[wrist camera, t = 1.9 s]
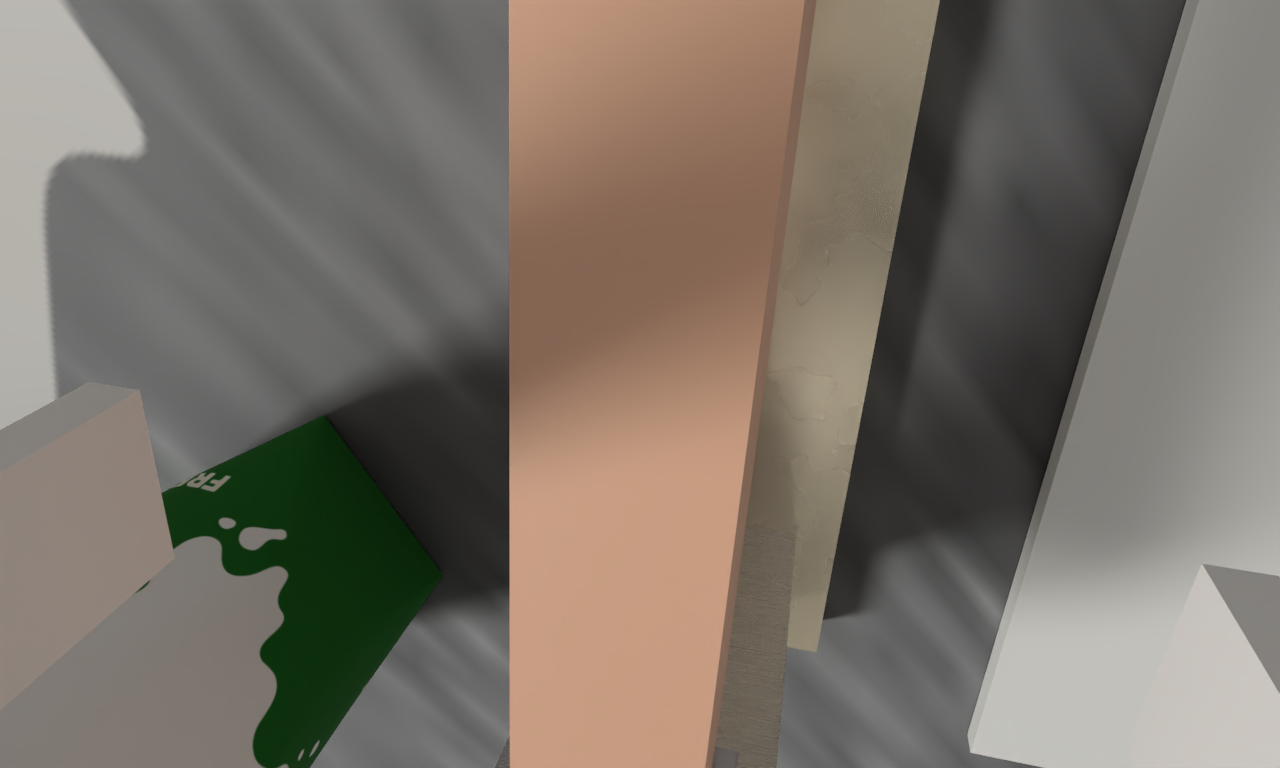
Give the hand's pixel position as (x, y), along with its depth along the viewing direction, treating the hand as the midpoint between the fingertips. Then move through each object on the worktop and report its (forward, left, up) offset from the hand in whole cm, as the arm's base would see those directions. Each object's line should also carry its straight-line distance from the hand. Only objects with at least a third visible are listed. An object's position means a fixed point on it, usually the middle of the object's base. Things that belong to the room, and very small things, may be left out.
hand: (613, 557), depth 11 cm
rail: (0, 0, -5) cm, 5 cm away
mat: (-2, -13, -15) cm, 20 cm away
